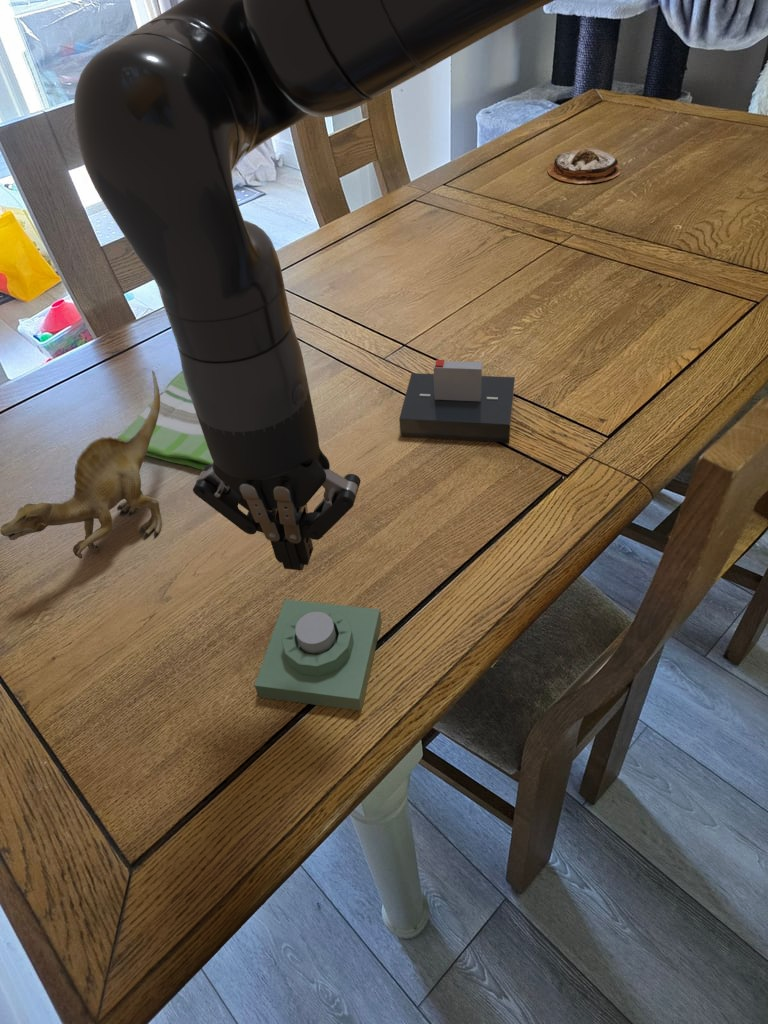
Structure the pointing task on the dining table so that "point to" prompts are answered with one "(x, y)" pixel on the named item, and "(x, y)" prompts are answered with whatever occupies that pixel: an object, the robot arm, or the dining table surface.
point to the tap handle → (458, 380)
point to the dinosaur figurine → (98, 489)
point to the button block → (321, 658)
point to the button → (315, 632)
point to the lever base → (458, 411)
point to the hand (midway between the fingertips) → (296, 561)
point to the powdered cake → (584, 166)
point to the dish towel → (174, 428)
